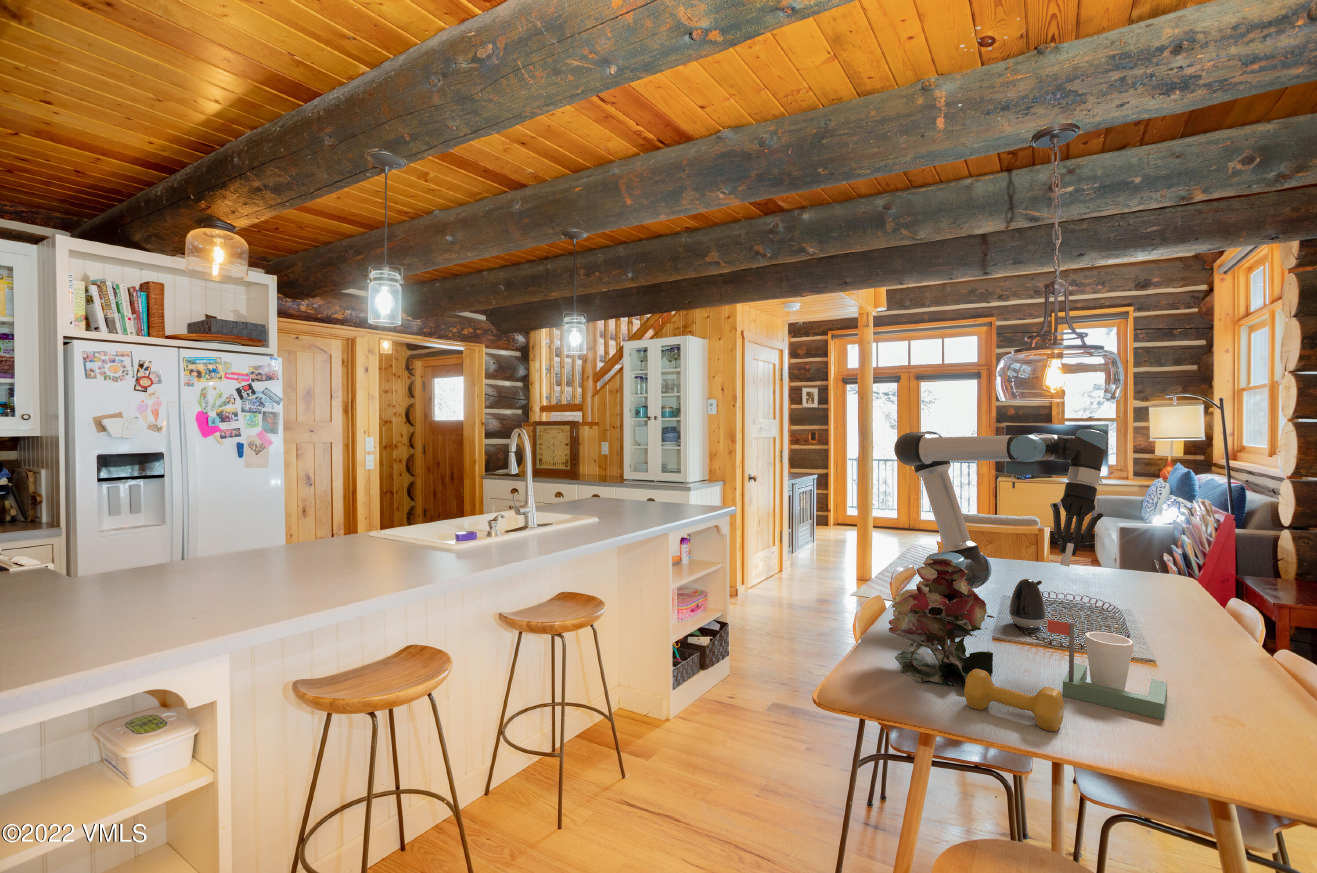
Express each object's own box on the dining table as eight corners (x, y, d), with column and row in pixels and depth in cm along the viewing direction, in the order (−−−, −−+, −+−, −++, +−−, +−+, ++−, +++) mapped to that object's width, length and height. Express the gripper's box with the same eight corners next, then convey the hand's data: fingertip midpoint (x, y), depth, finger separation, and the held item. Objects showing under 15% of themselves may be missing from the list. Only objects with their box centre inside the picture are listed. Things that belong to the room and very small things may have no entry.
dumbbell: (960, 709, 145) (961, 674, 144) (974, 697, 151) (974, 663, 151) (1056, 738, 131) (1056, 699, 131) (1067, 724, 138) (1067, 686, 137)
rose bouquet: (989, 658, 176) (990, 550, 175) (998, 700, 149) (1000, 574, 148) (891, 645, 186) (891, 543, 185) (883, 682, 159) (884, 564, 159)
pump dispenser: (1054, 629, 200) (1054, 581, 199) (1026, 632, 197) (1026, 583, 197) (1028, 619, 209) (1028, 574, 209) (1001, 622, 207) (1002, 576, 207)
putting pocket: (1056, 672, 166) (1057, 606, 165) (1167, 696, 151) (1168, 623, 150) (1045, 691, 154) (1046, 620, 153) (1164, 719, 139) (1165, 641, 139)
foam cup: (1131, 689, 155) (1132, 636, 155) (1132, 703, 147) (1134, 648, 147) (1084, 680, 160) (1085, 629, 160) (1083, 692, 153) (1085, 639, 152)
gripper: (1102, 490, 181) (1086, 571, 180) (1052, 479, 185) (1035, 558, 183) (1113, 489, 174) (1095, 573, 172) (1060, 478, 178) (1042, 560, 176)
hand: (1064, 565), depth 178 cm, fingers closed
